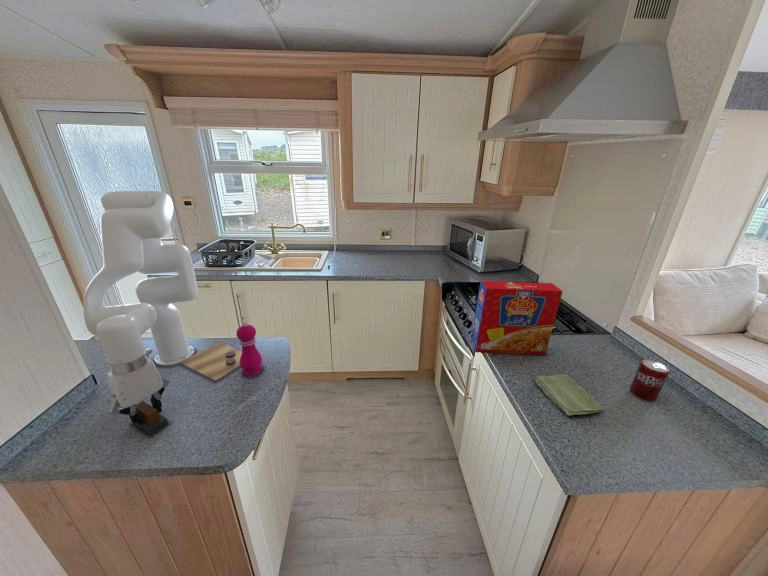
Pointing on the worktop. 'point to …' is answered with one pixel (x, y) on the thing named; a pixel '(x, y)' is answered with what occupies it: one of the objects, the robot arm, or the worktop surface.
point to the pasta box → (515, 317)
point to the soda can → (649, 380)
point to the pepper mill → (249, 350)
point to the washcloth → (568, 395)
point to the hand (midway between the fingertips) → (148, 415)
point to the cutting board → (213, 361)
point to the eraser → (150, 418)
